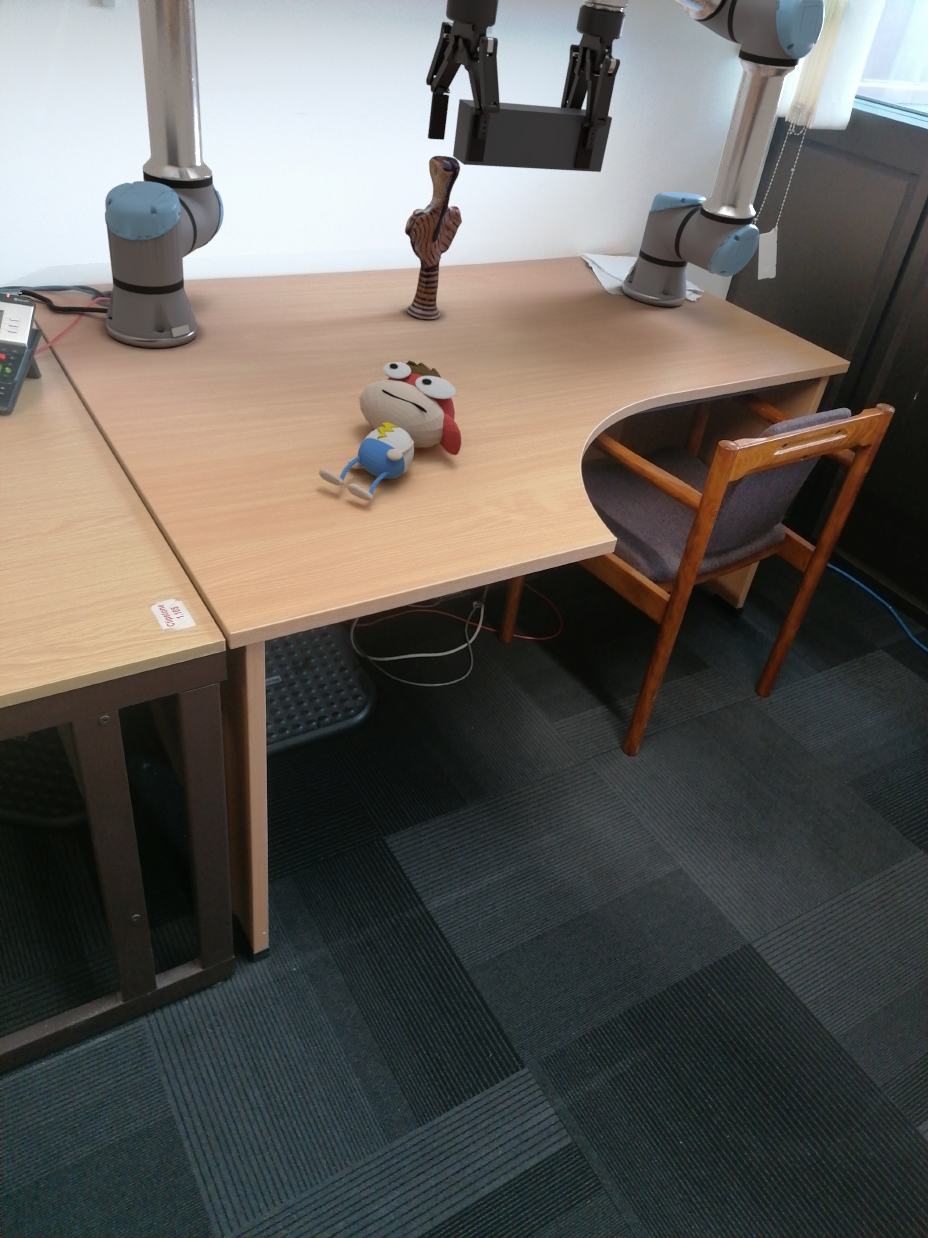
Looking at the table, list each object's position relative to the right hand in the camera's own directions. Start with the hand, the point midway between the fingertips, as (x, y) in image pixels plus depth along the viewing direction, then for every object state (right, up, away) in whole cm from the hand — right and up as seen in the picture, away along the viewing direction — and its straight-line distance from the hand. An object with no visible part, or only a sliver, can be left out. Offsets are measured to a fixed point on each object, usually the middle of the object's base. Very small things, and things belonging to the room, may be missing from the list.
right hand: (573, 162), depth 158 cm
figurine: (-28, -18, +26) cm, 42 cm away
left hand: (-21, -5, -14) cm, 26 cm away
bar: (-8, -2, -3) cm, 9 cm away
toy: (-31, -57, -23) cm, 68 cm away
